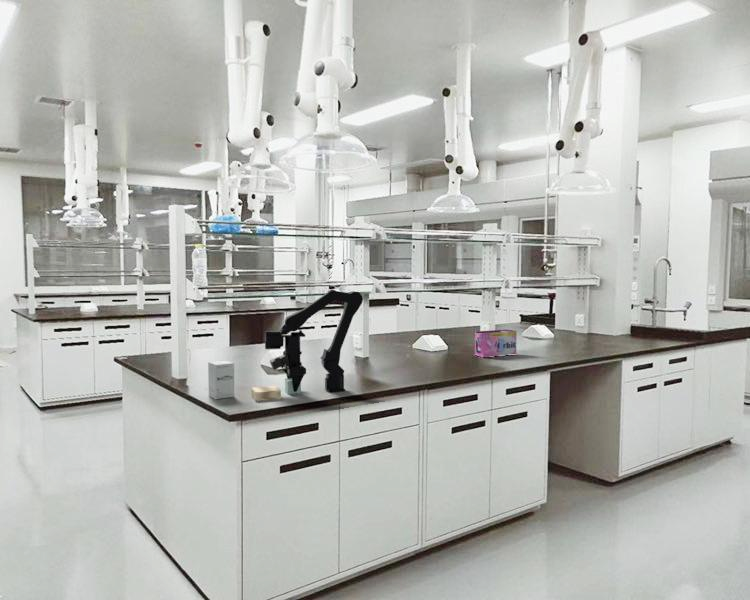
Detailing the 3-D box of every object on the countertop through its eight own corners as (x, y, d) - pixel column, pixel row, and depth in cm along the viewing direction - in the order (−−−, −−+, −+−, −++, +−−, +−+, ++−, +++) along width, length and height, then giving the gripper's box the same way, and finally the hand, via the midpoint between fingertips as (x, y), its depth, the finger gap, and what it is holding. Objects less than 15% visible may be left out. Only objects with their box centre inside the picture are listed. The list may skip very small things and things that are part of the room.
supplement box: (215, 399, 197) (214, 364, 197) (208, 396, 203) (207, 362, 203) (235, 397, 202) (234, 362, 201) (227, 393, 208) (227, 360, 207)
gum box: (481, 358, 290) (481, 333, 289) (472, 356, 297) (472, 331, 296) (516, 355, 300) (517, 330, 300) (507, 353, 307) (507, 329, 307)
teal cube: (298, 390, 213) (298, 377, 213) (300, 393, 208) (300, 380, 208) (285, 391, 211) (285, 378, 211) (287, 394, 206) (287, 381, 206)
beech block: (275, 394, 207) (275, 385, 207) (280, 400, 199) (280, 390, 198) (251, 396, 204) (251, 387, 204) (255, 402, 195) (255, 392, 195)
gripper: (267, 346, 215) (267, 386, 216) (275, 353, 197) (276, 396, 198) (295, 345, 219) (295, 384, 219) (306, 351, 201) (306, 394, 202)
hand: (293, 389), depth 210 cm, fingers open, 8 cm apart
